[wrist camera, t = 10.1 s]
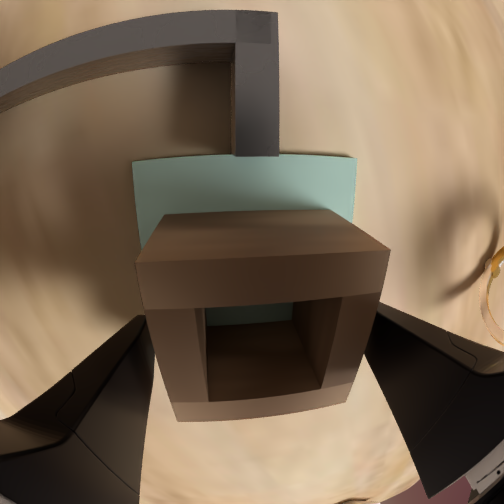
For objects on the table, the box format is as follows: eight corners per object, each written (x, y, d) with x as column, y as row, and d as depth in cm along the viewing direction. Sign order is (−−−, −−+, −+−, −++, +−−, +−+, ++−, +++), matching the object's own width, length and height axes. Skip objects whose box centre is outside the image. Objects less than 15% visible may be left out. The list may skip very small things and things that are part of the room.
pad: (170, 373, 12) (170, 378, 12) (134, 161, 9) (131, 161, 8) (325, 359, 13) (327, 363, 13) (353, 157, 10) (357, 158, 9)
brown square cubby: (182, 347, 11) (177, 421, 8) (164, 214, 9) (134, 262, 6) (314, 337, 12) (345, 402, 9) (330, 209, 10) (390, 249, 6)
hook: (-33, 198, 7) (-85, 224, 4) (-35, 103, 5) (-88, 108, 2) (265, 153, 9) (301, 162, 5) (265, 26, 7) (295, -30, 4)
